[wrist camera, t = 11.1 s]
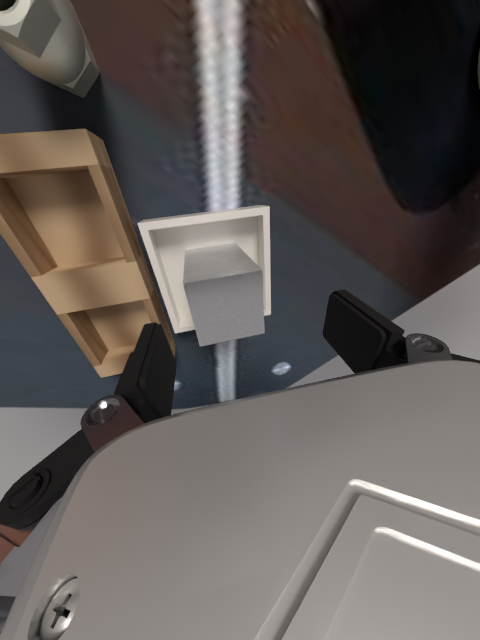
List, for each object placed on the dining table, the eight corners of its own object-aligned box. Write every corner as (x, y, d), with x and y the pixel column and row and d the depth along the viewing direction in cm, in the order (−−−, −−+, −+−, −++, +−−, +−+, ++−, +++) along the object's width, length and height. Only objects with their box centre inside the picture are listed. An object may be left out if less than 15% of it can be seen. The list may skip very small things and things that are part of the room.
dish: (260, 205, 19) (269, 206, 17) (264, 304, 25) (270, 314, 23) (143, 219, 18) (137, 223, 16) (176, 321, 24) (175, 333, 22)
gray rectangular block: (235, 242, 20) (262, 270, 13) (239, 288, 23) (264, 332, 15) (185, 249, 20) (183, 283, 12) (196, 295, 22) (199, 346, 15)
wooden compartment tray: (102, 139, 15) (85, 128, 12) (175, 345, 26) (174, 361, 23) (-20, 149, 14) (-66, 138, 11) (110, 359, 25) (101, 377, 22)
